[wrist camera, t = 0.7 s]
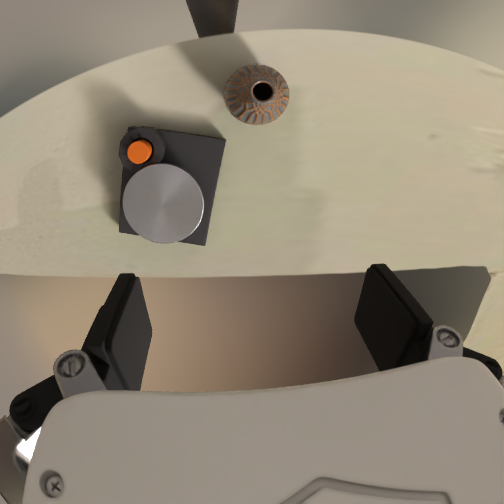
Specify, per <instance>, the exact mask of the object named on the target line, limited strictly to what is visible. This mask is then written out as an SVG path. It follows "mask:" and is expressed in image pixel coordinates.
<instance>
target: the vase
mask: <svg viewBox="0 0 504 504" xmlns="http://www.w3.org/2000/svg"><path fill="white" fill-rule="evenodd" d="M224 99H225V103H226V106H227V108H228V110H229V111H230V113H231V114H232V115H233V116H234V117H235V118H237V119H238V120H240V121H242V122H244V123H247V124H252V125H262V124H266V123H269V122H272V121H274V120H275V119H277V118H278V117H279V116H280V115H281V114H282V113H283V112H284V111H285V109H286V107H287V105H288V101H289V88H288V85H287V83H286V81H285V79H284V78H283V76H282V75H281V74H280V73H279V72H277V71H276V70H274V69H273V68H271V67H268V66H265V65H248V66H245V67H243V68H240V69H239V70H237V71H236V72H235V73H233V74H232V75H231V77H230V78H229V80H228V81H227V83H226V86H225V90H224Z"/></svg>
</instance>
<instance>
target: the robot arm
mask: <svg viewBox="0 0 504 504" xmlns="http://www.w3.org/2000/svg"><path fill="white" fill-rule="evenodd" d="M354 320H355V324H356V327H357V329H358V330H359V332H360V334H361V336H362V338H363V340H364V341H365V343H366V345H367V348H368V349H369V351H370V353H371V355H372V357H373V359H374V361H375V363H376V365H377V367H378V369H379V371H380V372H377V373H372V374H367V375H362V376H357V377H351V378H346V379H340V380H334V381H328V382H321V383H314V384H307V385H299V386H291V387H281V388H272V389H271V388H270V389H258V390H245V391H244V390H243V391H222V392H155V391H140V388H141V383H142V378H143V373H144V369H145V364H146V359H147V355H148V350H149V346H150V342H151V337H152V327H151V323H150V319H149V315H148V312H147V308H146V303H145V300H144V296H143V291H142V287H141V282H140V278H139V277H135V274H134V273H122V274H120V275H119V276H118V278H117V280H116V282H115V284H114V286H113V288H112V290H111V292H110V294H109V296H108V298H107V300H106V302H105V304H104V305H103V306H101V308H100V309H99V312H98V314H97V316H96V318H95V320H94V322H93V324H92V326H91V328H90V330H89V333H88V335H87V337H86V339H85V342H84V344H83V346H82V349H81V350H69V351H66V352H64V353H63V354H61V355H60V356H59V357H58V358H57V359H56V361H55V363H54V366H53V371H54V375H52V376H51V377H49V378H47V379H45V380H43V381H42V382H40V383H38V384H36V385H35V386H33V387H31V388H29V389H27V390H26V391H24V392H22V393H21V394H19V395H17V396H16V397H15V398H14V399H13V401H12V402H11V405H10V410H9V411H10V415H9V416H8V417H6V416H3V418H1V419H0V494H1V496H2V497H3V498H4V499H5V501H6V502H7V504H504V376H503V375H502V369H501V366H500V365H499V364H498V362H497V361H496V360H495V359H492V358H490V357H488V356H485V355H483V354H480V353H478V352H475V351H473V350H470V349H468V348H465V347H463V339H462V337H461V335H460V334H459V333H458V332H457V331H456V330H455V329H453V328H451V327H448V326H438V327H436V328H435V329H433V328H432V324H433V321H432V319H431V318H430V317H429V315H428V314H427V313H426V312H425V311H424V309H423V308H422V307H421V305H420V304H419V303H418V302H417V301H416V299H415V298H414V297H413V296H412V295H411V293H410V292H409V291H408V290H407V289H406V288H405V286H404V285H403V284H402V283H401V282H400V280H399V279H398V278H397V277H396V276H395V275H394V274H393V272H392V271H391V270H390V269H389V268H388V267H387V265H385V264H372V265H371V266H370V268H368V269H367V271H366V275H365V279H364V284H363V287H362V292H361V295H360V299H359V303H358V306H357V310H356V313H355V318H354Z"/></svg>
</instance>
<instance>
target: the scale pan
mask: <svg viewBox="0 0 504 504" xmlns="http://www.w3.org/2000/svg"><path fill="white" fill-rule="evenodd" d="M123 210H124V214H125V217H126V219H127V221H128V223H129V225H130V226H131V227H132V229H133V230H134V231H135V232H136V233H138V234H139V235H140V236H142V237H143V238H145V239H147V240H149V241H152V242H156V243H173V242H177V241H180V240H182V239H184V238H186V237H187V236H189V235H190V234H191V233H192V232H193V231H194V230H195V229H196V228H197V226H198V225H199V223H200V221H201V218H202V215H203V211H204V197H203V193H202V190H201V188H200V185H199V184H198V182H197V181H196V179H195V178H194V177H193V176H192V175H191V174H190V173H189V172H188V171H186V170H185V169H183V168H181V167H179V166H177V165H174V164H169V163H156V164H151V165H148V166H146V167H144V168H142V169H141V170H139V171H138V172H137V173H135V174H134V175H133V176H132V178H131V179H130V180H129V182H128V183H127V185H126V188H125V190H124V194H123Z"/></svg>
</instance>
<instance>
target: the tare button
mask: <svg viewBox="0 0 504 504" xmlns="http://www.w3.org/2000/svg"><path fill="white" fill-rule="evenodd" d="M151 154H152V147H151V145H150V143H149V142H147V141H146V140H138V141H135V142H133V143H132V144H131V145H130V146H129V148H128V151H127V155H128V158H129V159H130V161H132V162H133V163H136V164H140V163H143V162H144V161H146V160H147V159H148V158H149V157H150V156H151Z"/></svg>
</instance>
